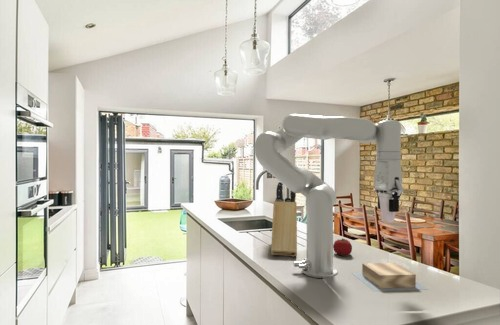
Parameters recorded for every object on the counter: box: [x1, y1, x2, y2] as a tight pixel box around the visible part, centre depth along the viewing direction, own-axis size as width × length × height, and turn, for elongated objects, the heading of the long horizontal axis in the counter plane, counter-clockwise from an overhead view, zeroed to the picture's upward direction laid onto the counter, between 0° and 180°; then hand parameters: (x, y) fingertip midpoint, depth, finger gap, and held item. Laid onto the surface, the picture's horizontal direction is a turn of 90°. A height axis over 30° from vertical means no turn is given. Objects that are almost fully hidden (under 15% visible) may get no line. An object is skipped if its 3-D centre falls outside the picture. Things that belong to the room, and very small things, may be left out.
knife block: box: [270, 181, 298, 257], centre depth 147 cm, size 11×35×31 cm, turn 173°
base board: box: [351, 272, 428, 292], centre depth 104 cm, size 18×16×1 cm
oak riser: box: [361, 262, 417, 288], centre depth 104 cm, size 12×12×4 cm
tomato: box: [333, 238, 353, 257], centre depth 137 cm, size 8×8×7 cm
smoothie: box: [378, 191, 396, 224], centre depth 104 cm, size 6×6×14 cm
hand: (387, 209), depth 104 cm, fingers closed on smoothie, 6 cm apart
